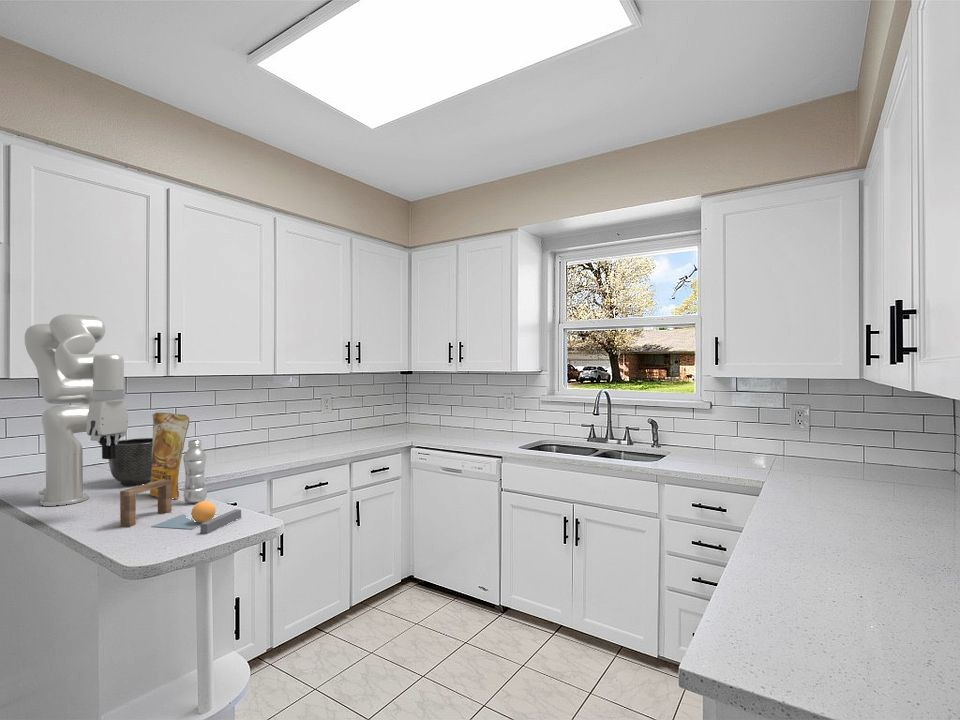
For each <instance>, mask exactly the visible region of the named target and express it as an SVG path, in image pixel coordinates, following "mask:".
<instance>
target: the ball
mask: <svg viewBox="0 0 960 720" xmlns="http://www.w3.org/2000/svg"><path fill="white" fill-rule="evenodd" d="M190 513H191V515H192V518H193V519H194V520H195V521H196V522H198V523H204V522H206V521H209V520H211V519H212V518H213V517H214V515H216V506H215V505H214V504H213V503H212V502H211V501H208V500H204V501H201V502H198V503H195V505H194V506H193V507H192V509H191V512H190Z"/></svg>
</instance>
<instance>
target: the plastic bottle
mask: <svg viewBox="0 0 960 720" xmlns="http://www.w3.org/2000/svg"><path fill="white" fill-rule="evenodd" d="M187 447H188V449H187V450H186V452H185V453H184V454H183V458H182V459H183V464H184V471H185V483H184V484H185V485H184V491H183V499H184V500H183V501H184V502H185V503H186V504H197V502H198V503H199V502H201V501H206V498H207V494H208V491H207V486H206V481H205V467H206V461H207V460H206V458H207V454H206V453H205V451H204V449H202V440H201V439H192V440H188V444H187Z"/></svg>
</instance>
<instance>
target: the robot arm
mask: <svg viewBox="0 0 960 720" xmlns="http://www.w3.org/2000/svg"><path fill="white" fill-rule="evenodd" d="M105 334H106V327H105V324H104V322H103V320H102V319H101V318H99V317H98V316H95V315H85V314H71V313H70V314H68V313H67V314H66V313H65V314H59V315H56V316H54V317H53V318H52V319H51V320H50V321H49V323H39V324H33V325H30V326H29V327H27V328H26V330H25V333H24V345H25V349H26V352H27V354H28V356H29V358H30V360H31V361H32V363H33V364H34V366H35V369H36V371H37V372H36V373H37V377H38V382H39V385H40V392H41V395H42V399H43V400H44V401H45V403H47V404H51V405H52V406H50V407H48V408H46V409H45V410H44V411H43V412H42V414H41V424H42V428H43V433H44V435H43V436H44V440H45V441H44V443H45V487H44V488H43V489H42V490H39V492H38V495H39V496H40V495H41V496H42V495H43V499H41V500H39V505H40V506H42V505H43V506H42V507H56V505H59V506H65V505H66V504H67V505H72V504H77V503H81V502H84V501H86V500H88V499H89V498H90V495H89V494H88V493H84V467H83V463H84V460H83V458H84V456H83V454H84V452H83V451H84V450H83V445H82V443H81V441H80V440H79V439H78V438H76V437H75V435H74V434H78V433H79V434H80V433H86V434H87V436H90V441H92V442H93V441H94V442H98V443H99V446H101V459H103V460H109V459H114V458H116V444H118V441H119V440H120V439H121V438H123V437H126V436H127V431H128V427H129V414H128V407H127V401H126V400H125V396H126V392H125V390H124V389H125V387H124V386H125V370H124V368H125V360H124V357H123V356H122V355H120V354H111V353H110V354H105V353H90V352H92V351H93V350H94V348H95V346H96V344H97V343H99V342H100V341H101V340H103V338H104V336H105ZM54 350H55V351H54Z"/></svg>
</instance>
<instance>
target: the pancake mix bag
mask: <svg viewBox="0 0 960 720" xmlns="http://www.w3.org/2000/svg"><path fill="white" fill-rule="evenodd" d="M189 425H190V417H189V416H188V415H186V414H176V413H171V412H155V413H153V414H152V438H153V439H152V443H153V445H152V471H151V482H150V483H152V482H155V481H159V480H162V479H167V480H171V496H172V498H175V499H174V500H178V499H179V498H180V491H179V475H180V468H181V462H182V455H183V450H184V448H185V447H184V446H185V442H186V437H187V434H188V429H189ZM149 496H151V497H153V496H155V497H154V498H157V497H158V488H155V489H152V490H149ZM178 497H179V498H178ZM177 498H178V499H177Z"/></svg>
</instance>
